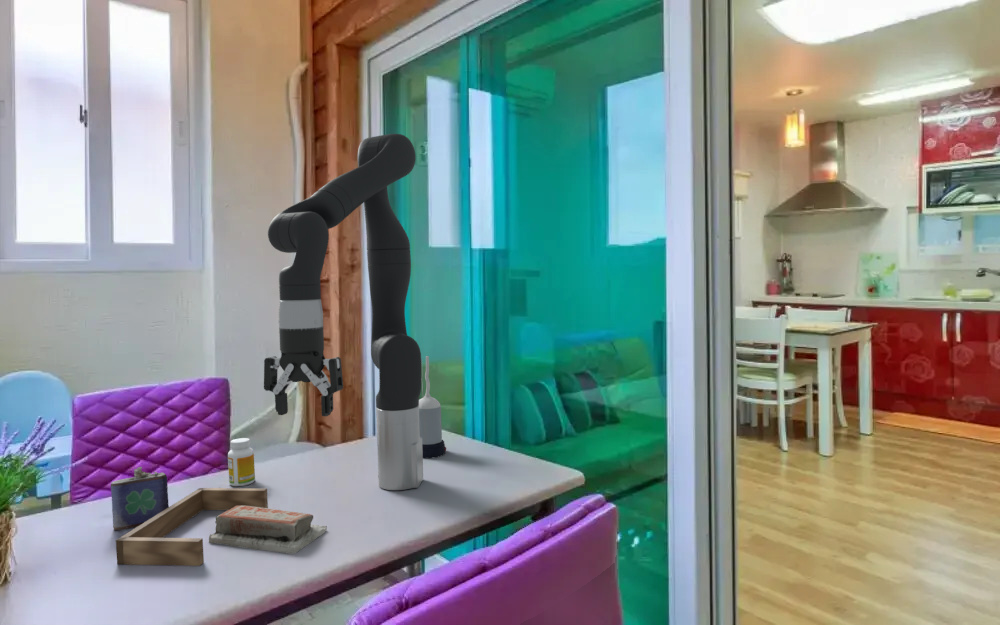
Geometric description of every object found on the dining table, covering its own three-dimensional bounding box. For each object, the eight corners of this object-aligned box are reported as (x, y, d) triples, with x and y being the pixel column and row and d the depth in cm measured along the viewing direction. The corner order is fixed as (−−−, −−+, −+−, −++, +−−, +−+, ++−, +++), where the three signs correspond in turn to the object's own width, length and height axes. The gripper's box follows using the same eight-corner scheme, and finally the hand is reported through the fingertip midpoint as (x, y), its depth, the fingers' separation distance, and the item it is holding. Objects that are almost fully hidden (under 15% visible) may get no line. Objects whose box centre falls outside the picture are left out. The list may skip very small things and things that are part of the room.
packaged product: (204, 518, 109) (243, 498, 119) (206, 545, 110) (245, 523, 119) (293, 528, 104) (327, 506, 113) (294, 557, 104) (328, 532, 114)
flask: (113, 532, 115) (109, 474, 114) (113, 526, 117) (110, 470, 117) (170, 521, 120) (167, 465, 119) (169, 516, 122) (166, 462, 122)
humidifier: (451, 452, 161) (449, 355, 159) (427, 460, 155) (425, 359, 153) (430, 447, 166) (427, 353, 165) (406, 454, 160) (403, 357, 158)
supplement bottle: (259, 478, 143) (257, 437, 142) (247, 487, 138) (245, 443, 137) (237, 478, 144) (234, 436, 143) (224, 486, 138) (222, 443, 138)
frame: (267, 508, 125) (266, 488, 125) (199, 565, 101) (198, 541, 100) (200, 507, 126) (199, 488, 126) (117, 564, 102) (115, 540, 102)
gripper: (347, 323, 114) (350, 411, 115) (276, 323, 117) (279, 409, 118) (328, 327, 107) (331, 421, 108) (253, 326, 110) (256, 418, 111)
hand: (304, 414), depth 113 cm, fingers open, 8 cm apart
